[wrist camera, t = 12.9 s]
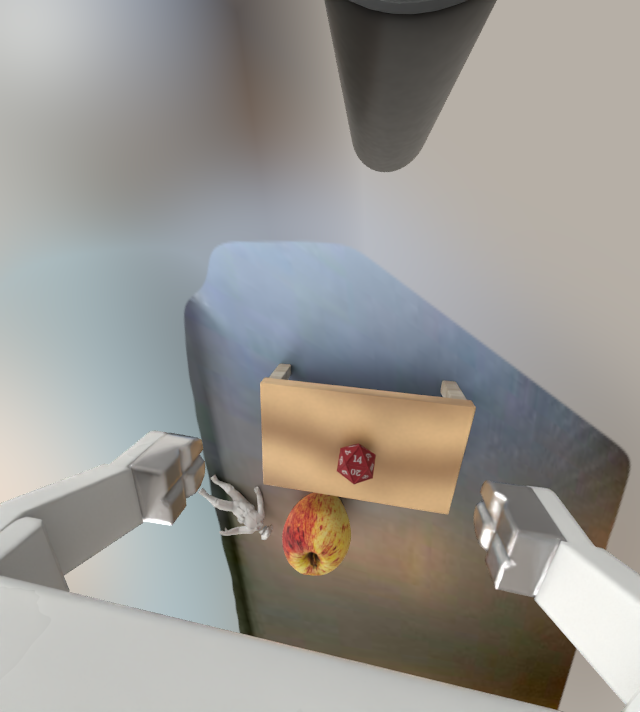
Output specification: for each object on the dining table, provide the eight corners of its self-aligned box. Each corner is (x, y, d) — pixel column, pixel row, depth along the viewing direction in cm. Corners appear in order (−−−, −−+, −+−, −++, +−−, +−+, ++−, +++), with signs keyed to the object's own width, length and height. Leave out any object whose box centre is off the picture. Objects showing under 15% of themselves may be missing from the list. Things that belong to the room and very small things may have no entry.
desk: (277, 361, 38) (260, 382, 32) (458, 379, 35) (476, 407, 29) (278, 451, 43) (263, 484, 37) (436, 474, 40) (448, 514, 34)
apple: (307, 467, 43) (289, 528, 34) (364, 493, 43) (361, 560, 34) (286, 508, 46) (265, 573, 37) (339, 532, 46) (331, 603, 37)
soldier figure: (227, 458, 46) (284, 512, 43) (234, 463, 51) (287, 512, 47) (187, 502, 43) (246, 563, 40) (199, 502, 48) (252, 558, 44)
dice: (377, 437, 32) (378, 462, 28) (370, 470, 33) (370, 497, 30) (342, 430, 32) (339, 454, 28) (337, 463, 34) (333, 490, 30)
